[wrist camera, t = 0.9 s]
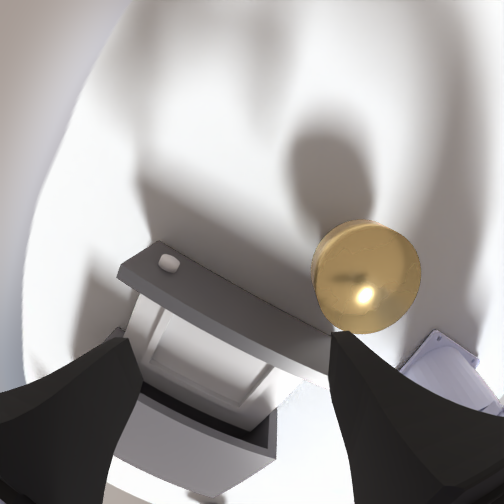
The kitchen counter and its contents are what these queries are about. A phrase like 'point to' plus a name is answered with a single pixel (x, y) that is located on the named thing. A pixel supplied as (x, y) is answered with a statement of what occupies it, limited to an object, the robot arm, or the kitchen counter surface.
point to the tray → (216, 340)
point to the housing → (192, 443)
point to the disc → (365, 276)
